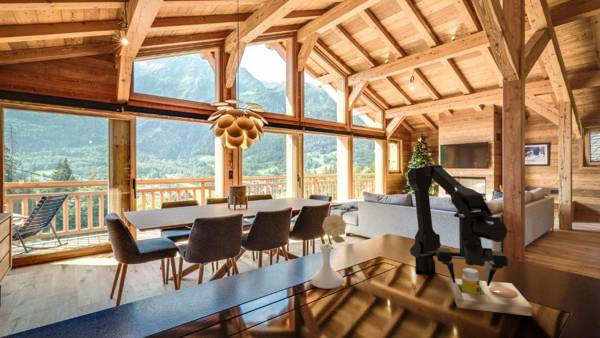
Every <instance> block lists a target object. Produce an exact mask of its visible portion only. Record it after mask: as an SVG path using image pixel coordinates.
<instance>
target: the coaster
mask: <svg viewBox="0 0 600 338" xmlns="http://www.w3.org/2000/svg"><path fill="white" fill-rule="evenodd" d="M489 291H490V292H491V293H493V294H495V295H497V296H501V297H506V298H514V297H517V296H518V294H517V292H515V291H514V290H512V289H509V288H505V287H490V288H489Z"/></svg>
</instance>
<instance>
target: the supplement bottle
mask: <svg viewBox="0 0 600 338" xmlns="http://www.w3.org/2000/svg"><path fill="white" fill-rule="evenodd" d="M462 273H463V274H462V277H461V279H462V292H461V293H469V294H480V281H481V280H480V278H479V271H478V270H477V269H474V268H470V267H469V268H468V267H466V268H463V270H462ZM480 295H481V294H480Z"/></svg>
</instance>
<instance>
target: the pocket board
mask: <svg viewBox="0 0 600 338" xmlns="http://www.w3.org/2000/svg"><path fill="white" fill-rule="evenodd" d="M448 287H449V288H450V291H451V294H452V296H453V300H454V302H455V304H456V307H457V308H459V309H466V310H476V311H482V312H483V311H484V312H493V313H500V314H501V313H502V314H503V313H504V314H508V315H509V314H512V315H519V316H521V315H522V316H528V317H533V306H532V305H531V304H530V303H529V302H528V301H527V299H526V298H525V297H524V296H523V295H522V294H521V293H520V291H519V290H518V288H516V286H514V284H513V283H511V282H501V281H491V283H490V285H489V286H487V283H486V280H480V294H469V293H462V278H457V277H455V283H453V280H452V277H449V278H448ZM490 287H505V288H509V289H512V290H514V291H515V292H517V294H518V296H517V297H514V298H506V297H501V296H497V295H495V294H493V293H491V292H490V291H489V288H490Z"/></svg>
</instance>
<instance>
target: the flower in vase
mask: <svg viewBox="0 0 600 338" xmlns="http://www.w3.org/2000/svg"><path fill="white" fill-rule="evenodd" d="M346 227H347V222H346V221H345V220H344V218H343V217H342V216H341V215H339V214H335V213H333V214H331V215H330V214H329V215H328V216H327V217H325V218H324V220H323V222H322V229H323V231H324V233H325V234H326V235H327V236H330V237H331V238H330V239H329V241H328V240H327V239H325V238H323V237H320V236H319V239H321V240H323V241H325V242H327V243H322V244H319V245H318V248H319V249H320V250H321V253H322V259H323V261H322V262H323V264H322V267H321V268H320V269H318V270H317V272H314V274H313V275H312V276H311V278H310V282H311V284H312V285H313V286H314V287H317V288H319V289H326V290H329V289H336V288H339V287H340V286H342V285H343V284H344V282H345V281H344V278H343V276H342V275H341V274H340V273H339V272H337V271H336V270H335V269H333V268H332V266H331V262H330V261H331V259H330V258H331V251H332V249H333V248H334V245H333V244H331V242H332V240H333V241H334V242H335V243H336V244H340V243H343V242H345V239H344V238H343V237H342V236H341V235H343V234H344V233H345V230H346Z"/></svg>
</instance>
